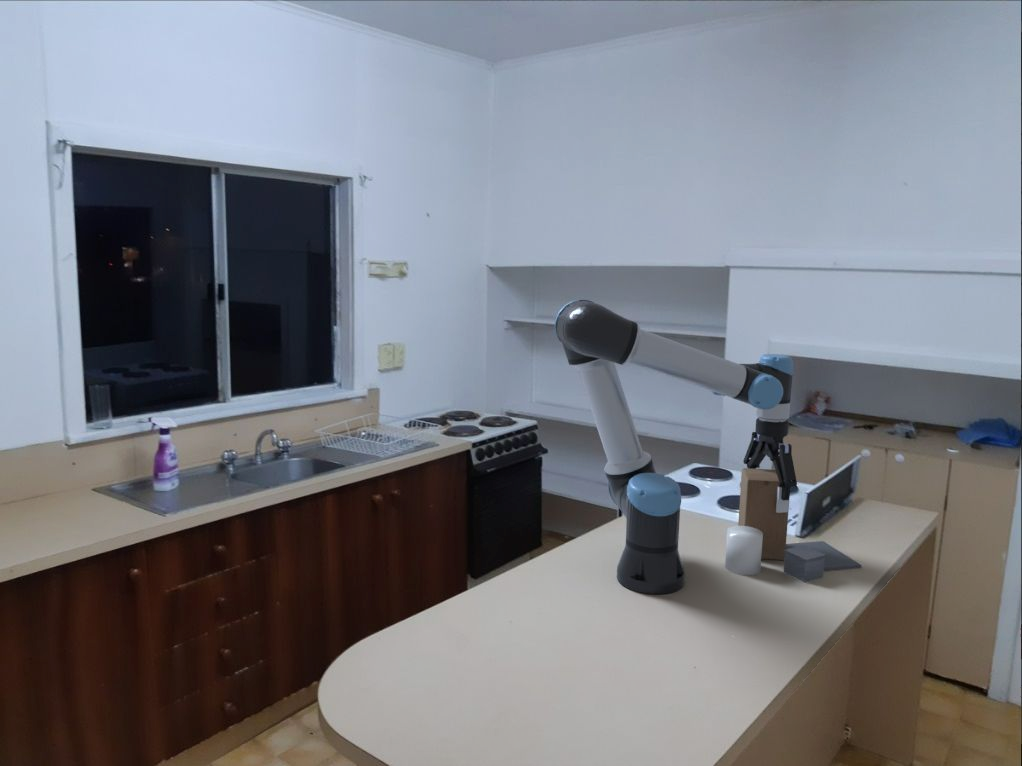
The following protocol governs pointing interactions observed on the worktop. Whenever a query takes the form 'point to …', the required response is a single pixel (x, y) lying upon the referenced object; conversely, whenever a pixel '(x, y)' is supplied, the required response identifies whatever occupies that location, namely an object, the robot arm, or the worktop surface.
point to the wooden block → (763, 510)
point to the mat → (829, 555)
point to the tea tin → (804, 563)
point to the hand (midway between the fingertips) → (766, 502)
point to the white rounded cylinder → (743, 550)
